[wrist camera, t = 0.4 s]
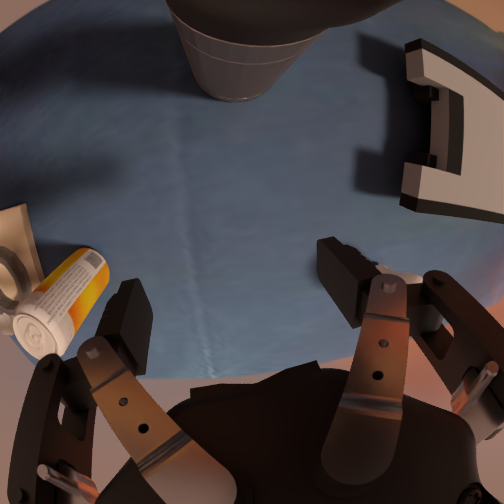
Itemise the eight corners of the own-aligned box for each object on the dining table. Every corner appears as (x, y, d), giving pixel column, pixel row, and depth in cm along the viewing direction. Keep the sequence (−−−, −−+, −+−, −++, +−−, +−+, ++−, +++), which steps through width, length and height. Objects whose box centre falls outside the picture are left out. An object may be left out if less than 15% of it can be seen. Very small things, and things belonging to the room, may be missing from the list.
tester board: (-24, 218, 25) (-39, 226, 21) (25, 203, 26) (8, 210, 22) (12, 325, 32) (2, 338, 29) (65, 329, 33) (55, 344, 30)
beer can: (67, 272, 30) (8, 339, 16) (80, 236, 29) (11, 297, 15) (102, 296, 32) (56, 374, 18) (118, 262, 31) (66, 338, 17)
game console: (389, 50, 24) (427, 35, 17) (507, 116, 28) (537, 120, 20) (383, 198, 32) (422, 215, 24) (499, 216, 36) (528, 229, 28)
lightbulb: (359, 252, 34) (405, 293, 24) (395, 247, 34) (445, 283, 24) (354, 292, 36) (393, 339, 26) (389, 285, 37) (431, 327, 27)
